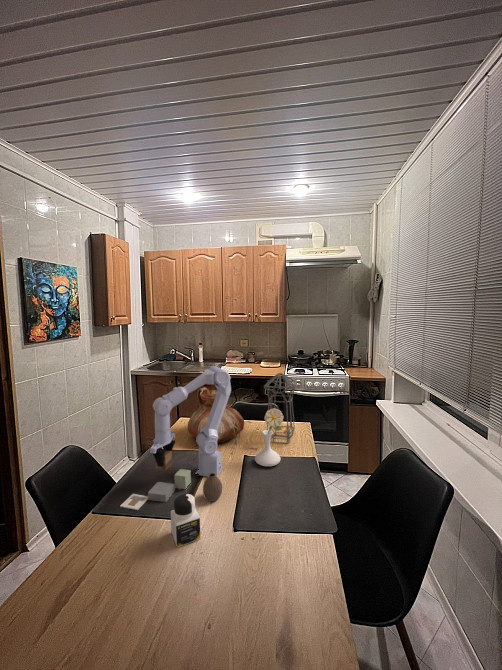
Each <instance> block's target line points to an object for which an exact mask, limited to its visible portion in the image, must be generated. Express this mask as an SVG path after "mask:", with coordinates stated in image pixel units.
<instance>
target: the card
mask: <svg viewBox="0 0 502 670" xmlns="http://www.w3.org/2000/svg"><path fill="white" fill-rule="evenodd" d="M147 501H149V500H148V495H141V494H136V493H132V494H131V495H130V496H128V498H127V499H126V500H124V502H123V503H121V504H120V506H119V507H120V508H124V509H129V510H130V509H131V510H135V511H138V510H140V508H141V507H142V506H143V505H145V503H146V502H147Z"/></svg>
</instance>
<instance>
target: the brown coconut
mask: <svg viewBox="0 0 502 670" xmlns="http://www.w3.org/2000/svg"><path fill="white" fill-rule="evenodd" d="M222 492H223V484H222V481H221V479H220V478H219V477H218V476H216V474H215V473H211V474H209V476H207V478H206V479H205V480H204V481H203V486H202V494H203V496H204V498H205V499H206V500H207V501H209V502H216V501H217V500H218V499H220V497H221V495H222Z"/></svg>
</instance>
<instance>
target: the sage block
mask: <svg viewBox="0 0 502 670" xmlns="http://www.w3.org/2000/svg"><path fill="white" fill-rule="evenodd" d="M191 472H192V471H191V469H186V468H185V469H183V468H179V470H178V471H176V473H175V474H174V475H173V476H174V484H175V488H183V489H186V488H187V486H188V485H189V484H190V483H191V484H192V477H191V476H192V475H191ZM191 484H190V485H191ZM187 489H188V488H187ZM187 489H186V490H187Z"/></svg>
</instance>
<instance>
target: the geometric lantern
mask: <svg viewBox="0 0 502 670" xmlns="http://www.w3.org/2000/svg"><path fill="white" fill-rule="evenodd" d="M282 379H283V381H282ZM296 382H297V381H296V380H295V379H293V378H291V377H289V376H287V374H284V373H282V372H277V374H275V375H273V376H272V377H271V378H270V379H267V382H266V383H265V384H264V385H263V387H264V389H266V392H267V398H268V402H267V411H268V410H270V409H273V408H275V409H276V403H285V408H286V409H285V410H286V425H285V426H284V425H279V426H280V427H281V428H286V429H287V432H281V431H280V432H279V431H276V430H274V428H273V427H272V426H269V425H267V424H266V427H267V428H266V430H270V429H271V427H272V429H271V431H273V433H274V434H272V435H271V438H272V442H273V444H274V443H275V444H283V442H279V441H276V440H284V438H286V442H285V444H290V442H291V438H292V437H293V436H294V432H295V429H296V428H295V417H294V416H295V415H294V405H293V403H294V402H293V397H294V394H295V390H296V384H297V383H296ZM271 383H273V384H274V386H271V385H270V384H271ZM278 383H279V384H278ZM282 384H285V386H282ZM272 388H273V390H272ZM276 389H277V390H276ZM290 389H291V392H290V394H289V392H288V390H290ZM284 392H286V394H287V396H288V400H287V399H286V396H285V395H284ZM272 393H273V395H272ZM277 394H281V395H277ZM276 397H282V398H284V401H279V400H276ZM273 398H274V400H273ZM273 403H274V404H273ZM288 403H289V404H288ZM273 405H274V407H273ZM288 405H289V410H288ZM288 411H289V413H288ZM288 414H289V415H288ZM288 417H289V418H288ZM268 428H269V429H268ZM290 430H291V431H290ZM281 434H286V435H281ZM279 437H283V438H279Z"/></svg>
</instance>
